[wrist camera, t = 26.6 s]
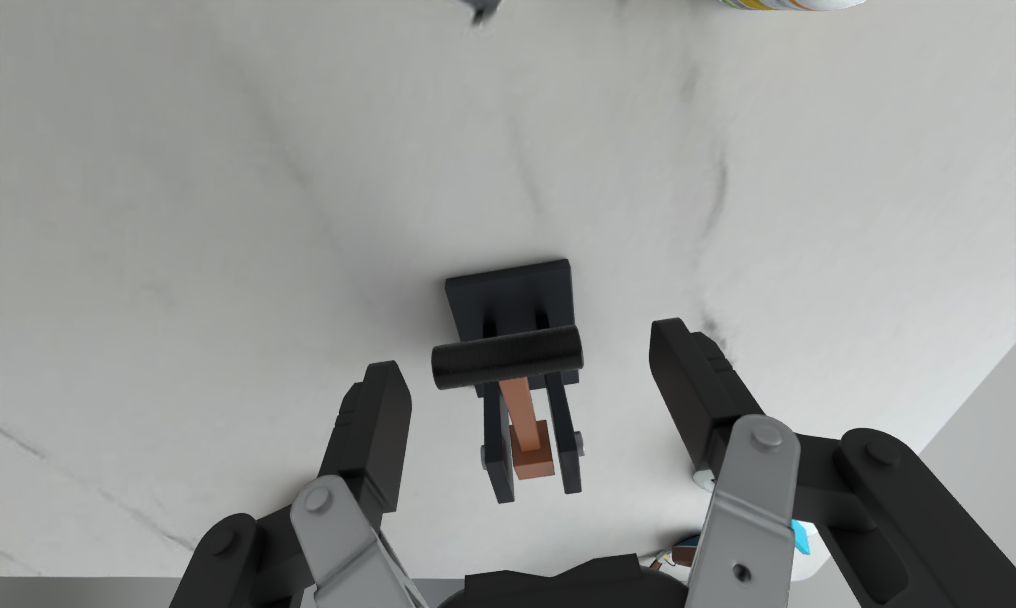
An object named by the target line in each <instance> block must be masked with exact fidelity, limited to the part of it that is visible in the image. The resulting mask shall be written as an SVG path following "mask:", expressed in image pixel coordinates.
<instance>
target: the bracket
mask: <svg viewBox="0 0 1016 608" xmlns="http://www.w3.org/2000/svg"><path fill="white" fill-rule="evenodd" d="M445 291H446V294H447V297H448V300H449V304H450V307H451V310H452V314H453V317H454V320H455V323H456V327H457V330H458V333H459V337H460V340H461V342H466V341H472V340H479V339H485V338H491V337H498V336H504V335H510V334H517V333H523V332H530V331H536V330H542V329H549V328H555V327H561V326H568V325H575V318H574V304H573V291H572V277H571V267H570V264H569V261H568V259H566V260H560V261H554V262H547V263H541V264H535V265H529V266H523V267H517V268H511V269H505V270H499V271H493V272H487V273H481V274H475V275H468V276H462V277H456V278H450V279H446V283H445ZM527 380H528V384H529V389H530V390H535V389H541V388H546V390H547V395H548V401H549V407H550V412H551V418H552V424H553V429H554V435H555V441H556V446H557V452H558V457H559V463H560V469H561V474H562V480H563V486H564V491H565V494H572V493H579V492H581V491H582V489H581V478H580V466H579V456H584V455H585V450H584V444H583V439H582V435H581V432H580V431H576V432H574V429H573V425H572V420H571V416H570V411H569V407H568V403H567V398H566V394H565V389H564V385H568V384H575V383H579V373H578V369H576V370H570V371H563V372H557V373H550V374H543V375H537V376H530V377H527ZM474 386H475V389H476V393H477V396H478V398H482V397H484V445H482V446H481V462H482V466H483V469H484V470H487V471H488V474H489V477H490V480H491V483H492V486H493V489H494V492H495V495H496V498H497V501H498V503H499V504H501V503H508V502H514V501H515V498H514V485H513V471H512V458H511V444H510V430H509V417H508V409H507V406H506V403H505V400H504V397H503V394H502V391H501V388H500V385H499V382H498V381H497V382H491V383H484V384H478V385H474Z"/></svg>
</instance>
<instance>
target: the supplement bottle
mask: <svg viewBox="0 0 1016 608" xmlns="http://www.w3.org/2000/svg"><path fill="white" fill-rule="evenodd" d="M719 1H720V2H722V3H723V4H725V5H726V6H729V7H732V8H735V9H742V10H795V11H797V10H798V11H829V10H838V9H844V8H848V7H852V6H855V5H857V4H860V3H862V2H865V1H867V0H719Z"/></svg>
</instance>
